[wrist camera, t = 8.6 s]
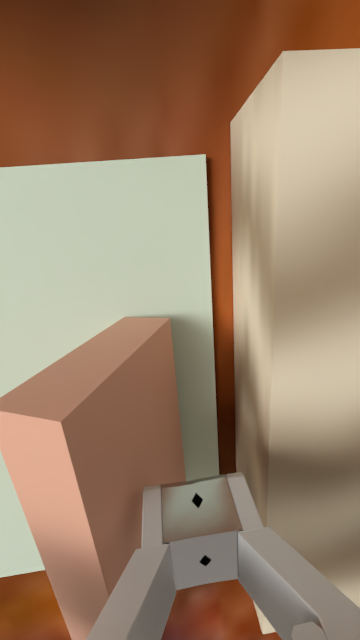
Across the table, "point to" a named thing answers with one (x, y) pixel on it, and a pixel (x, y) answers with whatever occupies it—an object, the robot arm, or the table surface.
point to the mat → (105, 289)
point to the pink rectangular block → (94, 457)
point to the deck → (300, 306)
